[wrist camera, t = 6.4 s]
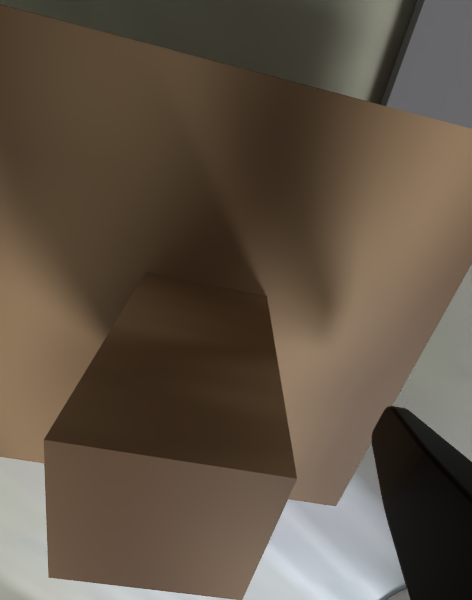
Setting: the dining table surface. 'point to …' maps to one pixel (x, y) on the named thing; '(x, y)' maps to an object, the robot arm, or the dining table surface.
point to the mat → (435, 63)
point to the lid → (204, 294)
